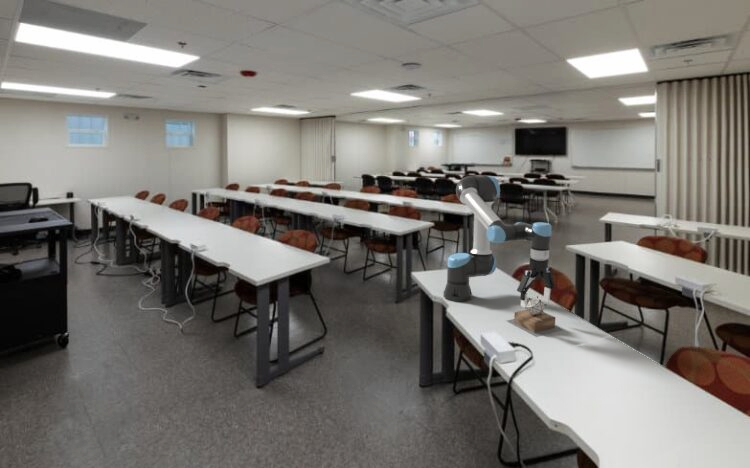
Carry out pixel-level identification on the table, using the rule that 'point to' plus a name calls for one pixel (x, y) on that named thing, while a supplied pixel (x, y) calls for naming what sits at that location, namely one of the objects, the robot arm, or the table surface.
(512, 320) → the build mat
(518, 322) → the base block
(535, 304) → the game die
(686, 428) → the table surface
